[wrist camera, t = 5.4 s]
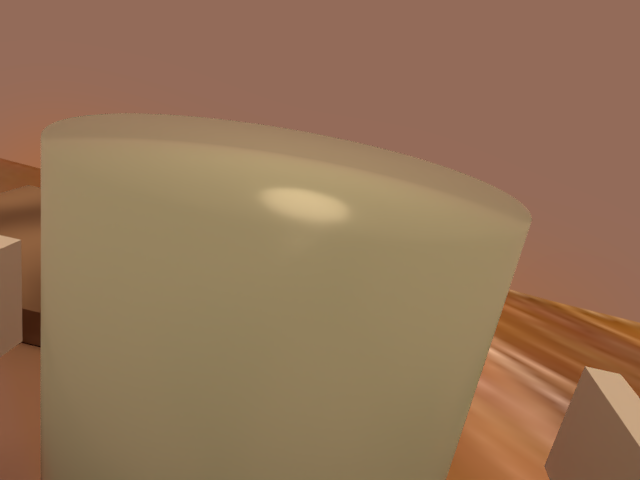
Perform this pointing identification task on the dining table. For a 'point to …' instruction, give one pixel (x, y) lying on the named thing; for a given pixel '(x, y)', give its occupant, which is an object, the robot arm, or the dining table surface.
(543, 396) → the dining table surface
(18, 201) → the walnut board
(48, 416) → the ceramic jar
